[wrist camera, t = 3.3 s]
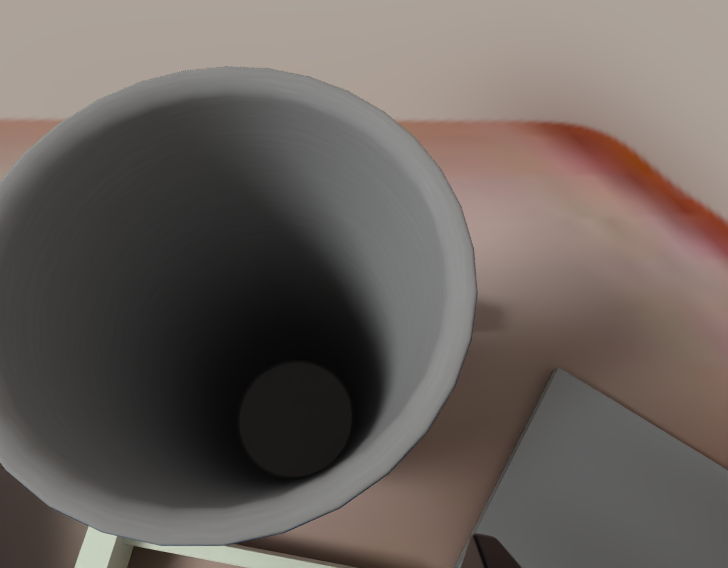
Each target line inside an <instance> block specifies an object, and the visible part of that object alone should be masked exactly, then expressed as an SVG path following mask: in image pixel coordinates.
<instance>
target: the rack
mask: <svg viewBox="0 0 728 568" xmlns="http://www.w3.org/2000/svg"><path fill="white" fill-rule="evenodd" d="M134 546H138V547H143V548H148V549H153V550H159V551H164V552H169V553H174V554H179V555H185V556H190V557H195V558H200V559H206V560H211V561H216V562H221V563H226V564H232V565H237V566H242V567H247V568H357V567H352V566H347V565H342V564H337V563H331V562H326V561H321V560H316V559H310V558H305V557H300V556H295V555H289V554H284V553H279V552H274V551H269V550H263V549H258V548H253V547H248V546H242V545H237V544H230V545H225V546H159V545H155V544H150V543H146V542H142V541H137V540H133V539H128V538H124V537H120V536H115V535H111V534H106V533H102V532H100V531H98V530H96V529H94V528H92V527H90V526H89V527H88V530H87V533H86V536H85V539H84V542H83V544H82V547H81V550H80V553H79V556H78V559H77V562H76V565H75V568H127V567H128V563H129V560H130V557H131V554H132V550H133V547H134Z"/></svg>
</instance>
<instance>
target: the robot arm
mask: <svg viewBox="0 0 728 568" xmlns="http://www.w3.org/2000/svg"><path fill="white" fill-rule="evenodd" d="M461 568H522V567H521V566H520V565H519V564H518V562H517V561H516V560H515V559H514V558H513V557H512V555H511V554H510V553H509V552H508V551H507V550H506V548H505V547H504V546H503V545H502V544H501V543H500V541H499V540H498V539H496V538H495V537H493V536H488V535H483V534H478V533H475V534H473V535H472V536H471V538H470V541H469V544H468V547H467V550H466V553H465V556H464V559H463V562H462V565H461Z"/></svg>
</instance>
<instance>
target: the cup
mask: <svg viewBox="0 0 728 568" xmlns="http://www.w3.org/2000/svg"><path fill="white" fill-rule="evenodd" d="M476 300H477V282H476V269H475V257H474V247H473V244H472V241H471V237H470V234H469V231H468V227H467V224H466V221H465V217H464V214H463V211H462V207H461V205H460V203H459V201H458V199H457V198H456V196H455V194H454V192H453V190H452V188H451V186H450V185H449V183H448V181H447V179H446V177H445V175H444V173H443V172H442V170H441V168H440V167H439V166H438V165H437V164H436V162H435V161H434V160H433V159H432V157H431V156H430V155H429V154H428V153H427V151H426V150H425V149H424V148H423V147H422V145H421V144H420V143H419V142H418V140H417V139H416V138H415V137H414V136H413V135H411V134H410V133H409V132H408V131H407V130H405V129H404V128H403V127H402V126H401V125H399V124H398V123H397V122H396V121H395V120H393V119H392V118H391V117H390V116H389V115H387V114H386V113H385V112H384V111H382V110H380V109H379V108H377V107H375V106H373V105H372V104H370V103H368V102H366V101H365V100H363V99H361V98H360V97H358V96H356V95H354V94H353V93H351V92H349V91H347V90H344V89H341V88H339V87H336V86H333V85H330V84H328V83H325V82H322V81H320V80H317V79H315V78H312V77H309V76H304V75H299V74H294V73H288V72H284V71H278V70H274V69H268V68H247V67H218V68H217V67H216V68H207V69H197V70H187V71H181V72H177V73H173V74H169V75H165V76H161V77H158V78H153V79H150V80H146V81H142V82H139V83H136V84H134V85H131V86H129V87H127V88H124V89H122V90H120V91H117V92H115V93H112V94H110V95H108V96H105V97H103V98H101V99H98V100H97V101H95V102H93V103H92V104H90V105H88V106H87V107H85V108H84V109H82V110H80V111H79V112H77V113H75V114H74V115H72V116H70V117H69V118H67V119H65V120H64V121H62V122H61V123H59V124H58V125H57V126H55V127H54V128H53V129H52V130H51V131H50V132H48V133H47V134H46V135H45V136H44V137H43V138H41V139H40V140H39V141H38V142H37V143H36V144H34V145H33V146H32V147H31V148H30V149H29V150H27V151H26V152H25V153H24V154H23V155H22V156H21V158H20V159H19V160H18V161H17V162H16V163H15V165H14V166H13V167H12V168H11V169H10V171H9V172H8V173H7V174H6V175H5V177H4V178H3V179H2V180H1V181H0V463H1V464H2V465H3V467H4V468H5V470H6V471H7V472H8V473H10V474H11V475H12V476H13V477H14V478H16V479H17V480H18V481H19V482H20V483H22V484H23V485H24V486H25V487H26V488H27V489H29V490H30V491H31V492H32V493H33V494H35V495H36V496H37V497H38V498H39V499H41V500H42V501H43V502H44V503H45V504H47V505H48V506H49V507H51V508H53V509H55V510H57V511H59V512H61V513H63V514H65V515H67V516H69V517H71V518H73V519H75V520H77V521H79V522H81V523H83V524H86V525H88V526H90V527H92V528H94V529H96V530H98V531H100V532H102V533H106V534H111V535H115V536H120V537H124V538H128V539H133V540H137V541H142V542H146V543H150V544H155V545H159V546H225V545H230V544H235V543H240V542H244V541H249V540H254V539H258V538H263V537H268V536H272V535H277V534H282V533H285V532H287V531H290V530H292V529H294V528H297V527H299V526H301V525H303V524H306V523H308V522H310V521H312V520H315V519H317V518H319V517H321V516H324V515H326V514H328V513H331V512H333V511H335V510H337V509H340V508H341V507H343V506H344V505H345V504H347V503H348V502H350V501H351V500H353V499H354V498H355V497H357V496H358V495H360V494H361V493H362V492H364V491H365V490H367V489H368V488H369V487H371V486H372V485H374V484H375V483H376V482H378V481H379V480H381V479H382V478H383V477H385V476H386V475H388V474H389V473H390V472H391V471H392V470H393V469H394V468H395V466H396V465H397V464H398V463H399V462H400V461H401V460H402V459H403V458H404V457H405V456H406V455H407V454H408V452H409V451H410V450H411V449H412V448H413V447H414V446H415V445H416V444H417V443H418V442H419V441H420V440H421V439H422V437H423V436H424V435H425V434H426V433H427V432H428V430H429V429H430V427H431V425H432V424H433V422H434V420H435V419H436V417H437V415H438V414H439V412H440V410H441V409H442V407H443V406H444V404H445V402H446V401H447V399H448V397H449V396H450V394H451V392H452V391H453V389H454V387H455V385H456V382H457V379H458V376H459V374H460V371H461V368H462V365H463V362H464V359H465V357H466V354H467V351H468V348H469V345H470V342H471V339H472V331H473V323H474V316H475V308H476Z"/></svg>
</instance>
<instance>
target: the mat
mask: <svg viewBox="0 0 728 568" xmlns="http://www.w3.org/2000/svg"><path fill="white" fill-rule="evenodd" d="M475 533H478V534H483V535H488V536H493V537H495V538H496V539H498V540H499V541H500V543H501V544H502V545H503V546H504V547H505V548H506V550H507V551H508V552H509V553H510V554H511V555H512V557H513V558H514V559H515V560H516V561H517V562H518V564H519V565H520V566H521V567H522V568H728V470H727V469H725V468H723V467H722V466H720V465H718V464H717V463H715V462H714V461H712V460H710V459H709V458H707V457H705V456H704V455H702V454H700V453H699V452H697V451H695V450H694V449H692V448H691V447H689V446H687V445H686V444H684V443H682V442H681V441H679V440H677V439H676V438H674V437H672V436H671V435H669V434H667V433H666V432H664V431H663V430H661V429H659V428H658V427H656V426H654V425H653V424H651V423H649V422H648V421H646V420H644V419H643V418H641V417H640V416H638V415H636V414H635V413H633V412H631V411H630V410H628V409H626V408H625V407H623V406H621V405H620V404H618V403H617V402H615V401H613V400H612V399H610V398H608V397H607V396H605V395H603V394H602V393H600V392H598V391H597V390H595V389H594V388H592V387H590V386H589V385H587V384H585V383H584V382H582V381H580V380H579V379H577V378H575V377H574V376H572V375H570V374H569V373H567V372H566V371H564V370H562V369H561V368H559V367H558V368H557V369H555V370H554V371H553V373H552V375H551V377H550V379H549V381H548V383H547V385H546V387H545V389H544V391H543V393H542V395H541V397H540V399H539V401H538V403H537V405H536V407H535V409H534V411H533V413H532V415H531V416H530V418H529V420H528V422H527V424H526V426H525V428H524V430H523V432H522V434H521V436H520V438H519V440H518V442H517V444H516V446H515V448H514V450H513V452H512V454H511V456H510V458H509V460H508V462H507V464H506V466H505V468H504V470H503V472H502V474H501V476H500V478H499V480H498V482H497V484H496V486H495V488H494V490H493V492H492V494H491V496H490V497H489V499H488V501H487V503H486V505H485V507H484V509H483V511H482V513H481V515H480V517H479V519H478V521H477V523H476V525H475V527H474V529H473V531H472V533H471V535H470V537H469V539H468V541H467V543H466V545H465V547H464V549H463V551H462V553H461V555H460V557H459V559H458V561H457V563H456V565H455V567H454V568H461V565H462V562H463V559H464V556H465V553H466V550H467V547H468V544H469V541H470V538H471V536H472V535H473V534H475Z"/></svg>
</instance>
